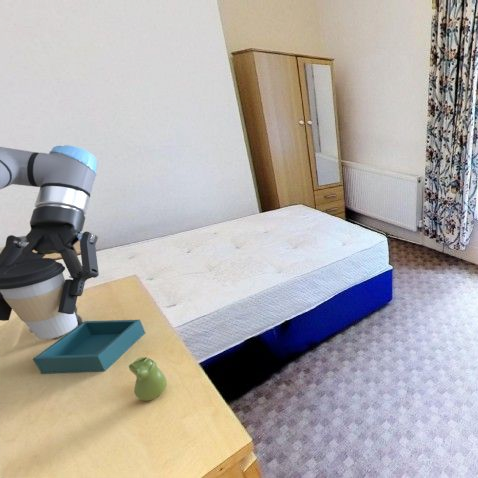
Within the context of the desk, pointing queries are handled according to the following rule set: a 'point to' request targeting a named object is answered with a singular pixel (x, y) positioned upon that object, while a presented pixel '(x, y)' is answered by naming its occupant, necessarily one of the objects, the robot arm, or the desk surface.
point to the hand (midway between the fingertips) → (33, 316)
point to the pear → (148, 379)
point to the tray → (90, 347)
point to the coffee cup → (37, 296)
